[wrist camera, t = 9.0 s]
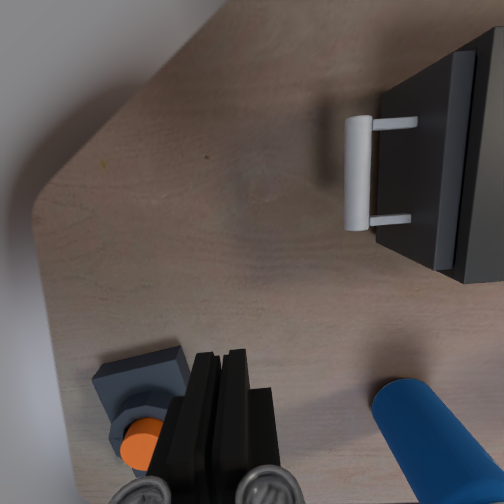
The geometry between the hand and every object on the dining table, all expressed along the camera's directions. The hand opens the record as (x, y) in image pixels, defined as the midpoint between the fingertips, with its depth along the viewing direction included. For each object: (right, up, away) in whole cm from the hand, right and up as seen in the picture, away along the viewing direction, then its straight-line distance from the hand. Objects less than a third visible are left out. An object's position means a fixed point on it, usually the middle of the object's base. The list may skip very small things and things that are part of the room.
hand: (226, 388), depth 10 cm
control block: (-8, -11, +20) cm, 24 cm away
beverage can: (+16, -11, +21) cm, 28 cm away
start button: (-8, -12, +16) cm, 22 cm away
